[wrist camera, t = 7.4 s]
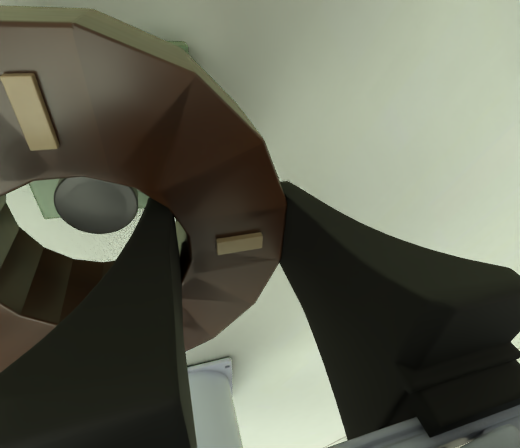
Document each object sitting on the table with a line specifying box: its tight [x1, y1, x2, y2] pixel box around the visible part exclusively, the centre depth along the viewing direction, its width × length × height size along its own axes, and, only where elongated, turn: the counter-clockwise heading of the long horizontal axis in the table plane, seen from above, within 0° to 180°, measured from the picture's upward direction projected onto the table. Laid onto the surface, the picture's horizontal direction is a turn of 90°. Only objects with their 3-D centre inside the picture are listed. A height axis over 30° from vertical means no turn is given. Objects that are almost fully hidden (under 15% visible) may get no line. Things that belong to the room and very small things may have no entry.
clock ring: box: [0, 6, 287, 373], centre depth 10 cm, size 11×11×3 cm
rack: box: [29, 41, 189, 234], centre depth 13 cm, size 8×8×7 cm
